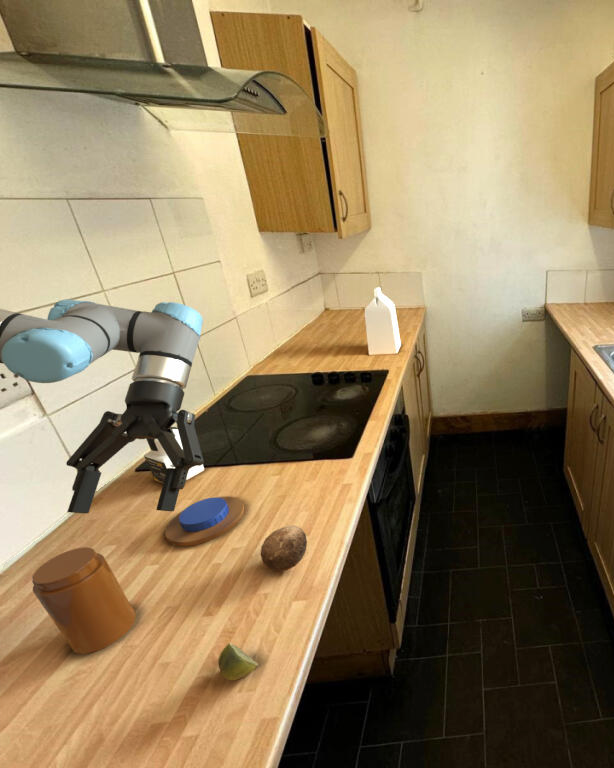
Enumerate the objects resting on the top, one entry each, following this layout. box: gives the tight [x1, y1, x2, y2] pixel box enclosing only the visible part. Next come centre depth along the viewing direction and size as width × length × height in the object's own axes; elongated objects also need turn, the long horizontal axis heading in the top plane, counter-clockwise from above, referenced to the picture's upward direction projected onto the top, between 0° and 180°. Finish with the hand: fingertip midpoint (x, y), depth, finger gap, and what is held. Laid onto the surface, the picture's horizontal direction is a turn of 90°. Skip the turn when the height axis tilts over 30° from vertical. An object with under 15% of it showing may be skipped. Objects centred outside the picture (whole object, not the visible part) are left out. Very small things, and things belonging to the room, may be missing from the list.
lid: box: [179, 497, 229, 532], centre depth 83 cm, size 8×8×2 cm
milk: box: [364, 286, 402, 356], centre depth 173 cm, size 12×12×26 cm
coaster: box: [164, 496, 245, 547], centre depth 84 cm, size 13×13×1 cm
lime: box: [217, 642, 259, 681], centre depth 56 cm, size 4×5×5 cm
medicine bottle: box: [143, 426, 205, 484], centre depth 95 cm, size 7×7×12 cm
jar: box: [31, 546, 137, 655], centre depth 60 cm, size 7×7×14 cm
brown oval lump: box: [260, 524, 308, 572], centre depth 74 cm, size 8×8×6 cm
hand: (121, 512), depth 66 cm, fingers open, 13 cm apart
